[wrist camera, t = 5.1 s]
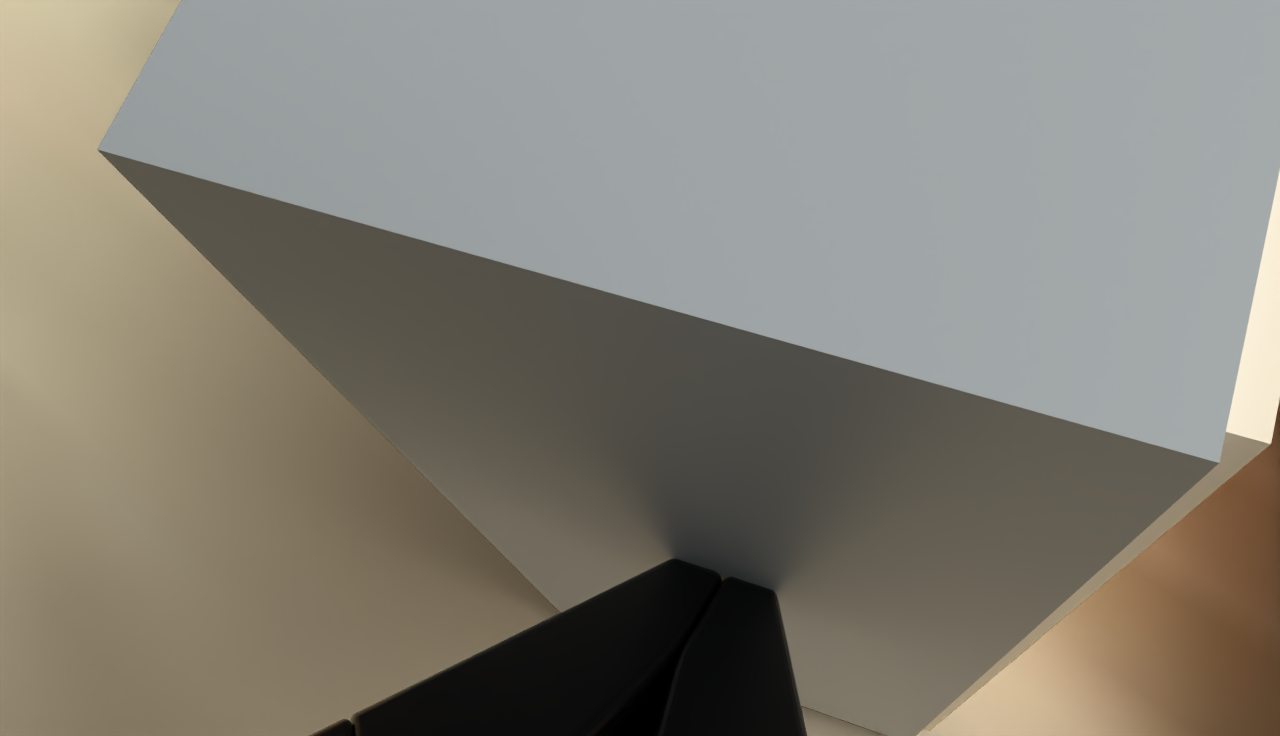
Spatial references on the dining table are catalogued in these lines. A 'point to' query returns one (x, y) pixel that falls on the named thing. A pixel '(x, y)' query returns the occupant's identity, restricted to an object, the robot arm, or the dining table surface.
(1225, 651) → the dining table surface
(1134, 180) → the boxed book
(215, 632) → the dining table surface
